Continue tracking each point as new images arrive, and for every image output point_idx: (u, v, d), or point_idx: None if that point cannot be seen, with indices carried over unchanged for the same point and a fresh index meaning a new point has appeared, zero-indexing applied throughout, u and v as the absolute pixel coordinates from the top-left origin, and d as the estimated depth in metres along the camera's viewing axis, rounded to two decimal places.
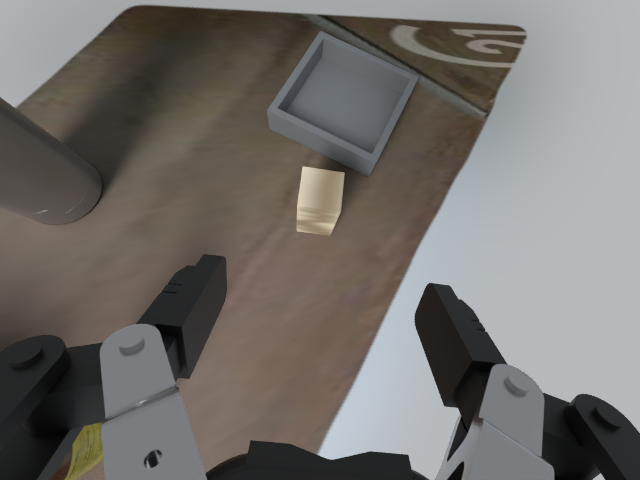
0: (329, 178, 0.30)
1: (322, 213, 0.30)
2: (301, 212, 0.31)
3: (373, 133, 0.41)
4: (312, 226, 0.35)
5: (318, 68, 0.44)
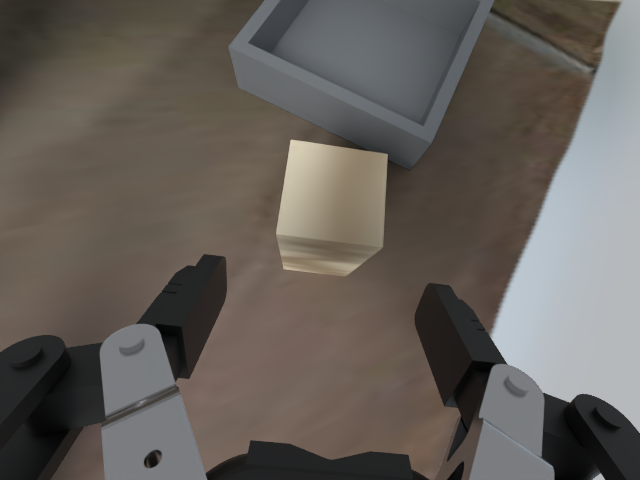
0: (354, 167, 0.13)
1: (336, 248, 0.13)
2: (288, 245, 0.13)
3: (417, 95, 0.24)
4: (313, 264, 0.17)
5: None
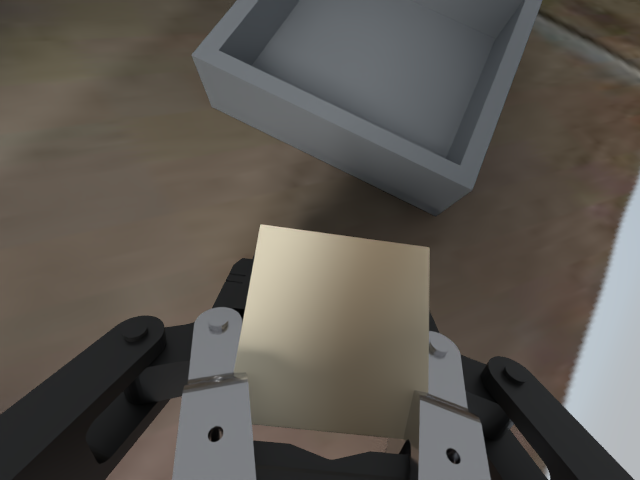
0: (372, 276, 0.07)
1: None
2: None
3: (443, 116, 0.19)
4: None
5: None
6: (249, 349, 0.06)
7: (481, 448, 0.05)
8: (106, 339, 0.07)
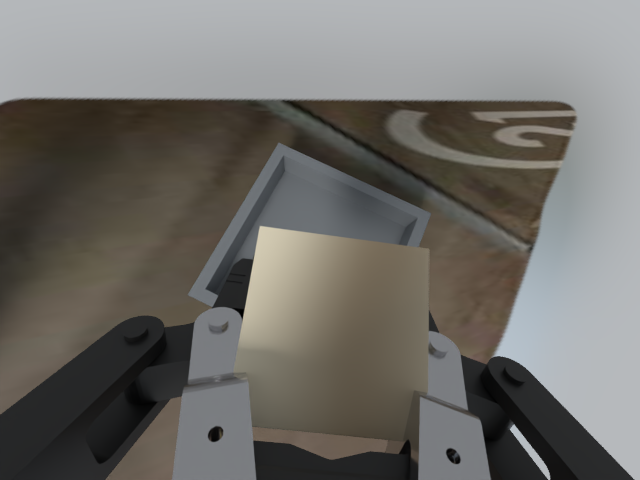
0: (371, 277, 0.07)
1: None
2: None
3: None
4: None
5: (279, 191, 0.29)
6: (248, 351, 0.06)
7: (481, 448, 0.05)
8: (106, 339, 0.07)
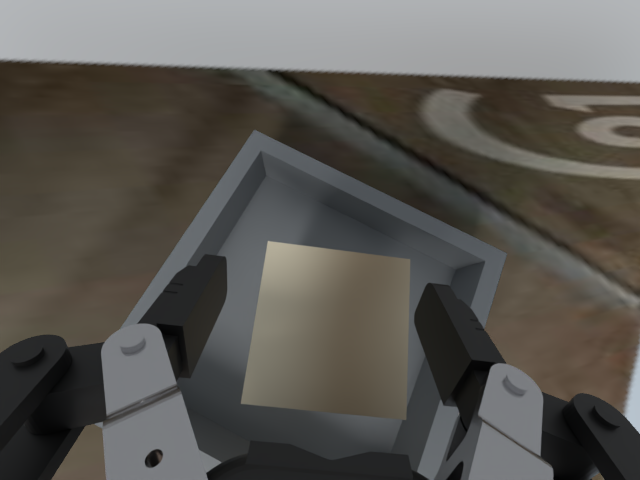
0: (361, 284, 0.09)
1: None
2: None
3: None
4: None
5: (256, 208, 0.18)
6: (260, 345, 0.08)
7: None
8: None
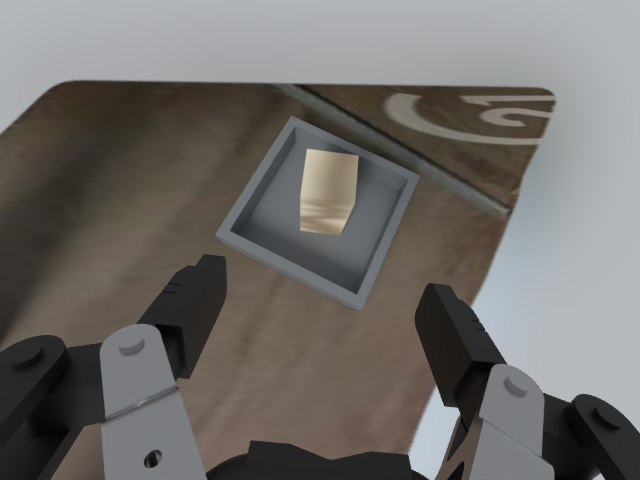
0: (340, 163, 0.24)
1: (331, 206, 0.24)
2: (305, 205, 0.25)
3: (361, 248, 0.32)
4: (319, 223, 0.29)
5: (291, 159, 0.34)
6: (305, 180, 0.23)
7: None
8: None
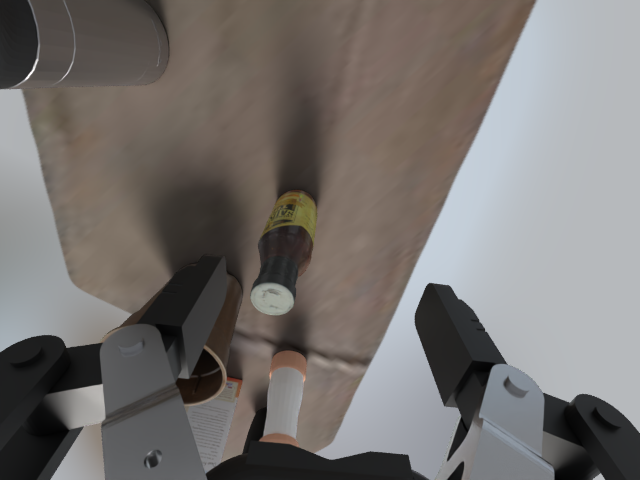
0: None
1: None
2: None
3: None
4: None
5: None
6: None
7: None
8: None
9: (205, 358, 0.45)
